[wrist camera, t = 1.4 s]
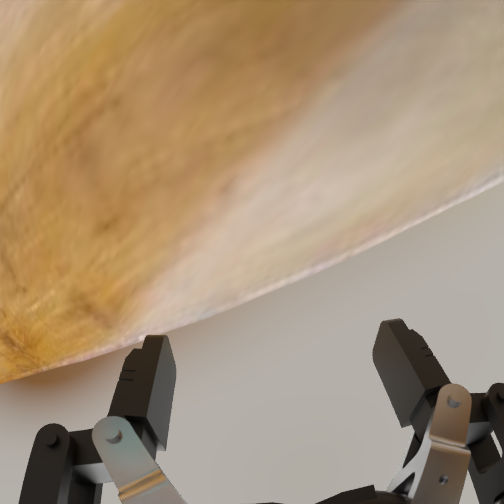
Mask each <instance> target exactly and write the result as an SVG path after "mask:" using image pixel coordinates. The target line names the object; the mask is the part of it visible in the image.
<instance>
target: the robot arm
mask: <svg viewBox="0 0 504 504" xmlns="http://www.w3.org/2000/svg"><path fill="white" fill-rule="evenodd" d="M373 362H374V365H375V367H376V369H377V371H378V373H379V376H380V378H381V380H382V382H383V385H384V387H385V389H386V392H387V394H388V396H389V398H390V401H391V403H392V406H393V408H394V410H395V413H396V415H397V417H398V420H399V422H400V425H401V427H402V428H403V427H406V426H409V425H412V426H413V429H414V430H413V432H412V433H411V437H410V439H409V442H408V445H407V448H406V451H405V453H404V456H403V459H402V461H401V464H400V466H399V469H398V471H397V473H396V475H395V477H394V478H393V480H392V481H391V483H390V485H389V486H388V488H387V490H386V491H375V488H374V485H370V486H366V487H362V488H358V489H354V490H349V491H345V492H341V493H339V494H337V495H335V496H333V497H330V498H328V499H326V500H323V501H321V502H318V503H316V504H459V501H460V497H461V494H462V490H463V487H464V483H465V478H466V475H467V470H468V471H469V473H470V476H471V479H472V482H473V485H474V488H475V491H476V494H477V497H478V500H479V504H504V383H495V384H493V385H492V386H491V387H490V389H489V390H488V392H487V393H469V392H468V391H467V389H465V388H464V387H462V386H461V385H458V384H452V383H451V382H450V381H449V379H448V377H447V375H446V374H445V372H444V370H443V369H442V367H441V365H440V364H439V362H438V361H437V359H436V357H435V356H433V353H432V351H431V349H430V348H428V345H427V343H426V342H425V340H424V339H423V337H422V336H420V335H419V334H418V333H417V332H415V331H414V330H413V329H412V330H409V329H408V327H407V326H406V324H405V323H404V321H403V320H402V319H400V318H399V319H393V320H386V321H382V323H381V324H380V328H379V331H378V335H377V338H376V341H375V344H374V348H373ZM175 381H176V365H175V361H174V357H173V353H172V350H171V346H170V343H169V339H168V337H167V335H147V336H146V337H145V340H144V343H143V347H142V349H133V350H132V351H131V353H130V354H129V355H128V356H127V357H126V359H125V362H124V364H123V367H122V372H121V374H120V377H119V381H118V383H117V386H116V389H115V393H114V396H113V399H112V403H111V406H110V409H109V413H108V415H107V417H106V418H103V419H101V420H100V421H99V422H98V423H97V424H96V425H95V426H94V428H92V429H88V430H81V431H73V432H68V431H67V430H66V429H65V427H63V426H62V425H59V424H55V423H54V424H48V425H45V426H44V427H42V428H41V429H40V430H39V431H38V433H37V435H36V438H35V441H34V444H33V447H32V451H31V455H30V458H29V462H28V465H27V469H26V473H25V477H24V481H23V486H22V490H21V495H20V500H19V504H100V503H101V494H102V486H103V483H107V482H114V483H115V485H116V487H117V489H118V490H119V494H118V496H119V498H120V501H121V503H122V504H187V502H186V501H185V500H184V499H183V498H182V496H181V495H180V494H179V493H178V491H177V490H176V489H175V488H174V486H173V485H172V484H171V482H170V481H169V480H168V478H167V477H166V475H165V474H164V473H163V472H162V470H161V469H160V467H159V466H158V464H157V463H156V462H155V458H156V451H157V450H159V451H166V446H167V438H168V430H169V422H170V415H171V408H172V401H173V394H174V388H175ZM493 430H494V432H495V435H496V437H497V439H498V441H499V443H500V446H501V448H502V452H503V454H502V458H501V457H500V454H499V452H498V450H497V447H496V445H495V443H494V440H493V438H492V436H491V433H492V432H493ZM258 504H281V503H273V502H272V503H258Z"/></svg>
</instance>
